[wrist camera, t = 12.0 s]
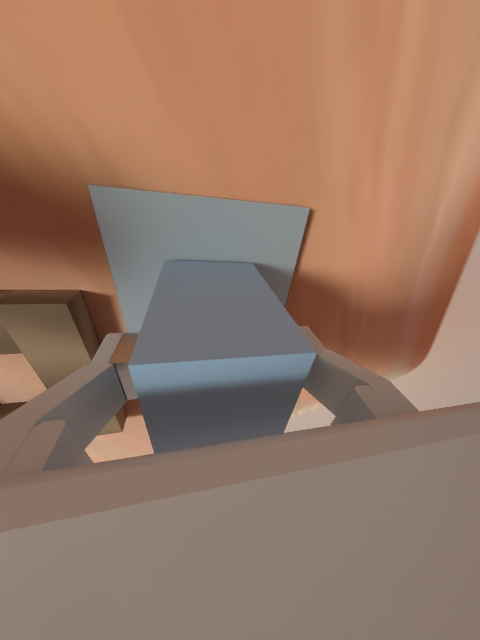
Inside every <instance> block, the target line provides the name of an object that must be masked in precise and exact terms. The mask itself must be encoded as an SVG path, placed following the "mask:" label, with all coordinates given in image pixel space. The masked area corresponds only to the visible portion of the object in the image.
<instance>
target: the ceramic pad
mask: <svg viewBox="0 0 480 640" xmlns="http://www.w3.org/2000/svg"><path fill="white" fill-rule="evenodd" d="M88 188H89V192H90V196H91V200H92V203H93V207H94V211H95V214H96V218H97V222H98V226H99V229H100V233H101V237H102V240H103V244H104V248H105V251H106V255H107V259H108V263H109V266H110V270H111V274H112V277H113V281H114V285H115V289H116V292H117V296H118V300H119V303H120V307H121V311H122V315H123V318H124V322H125V326H126V329H127V332H140V330H141V327H142V324H143V321H144V318H145V315H146V312H147V310H148V307H149V304H150V301H151V298H152V295H153V292H154V290H155V287H156V284H157V281H158V278H159V275H160V272H161V270H162V267H163V264H164V261H165V260H175V261H203V262H232V263H253V265H254V266H255V267H256V269H257V270H258V272H259V273H260V274H261V276H262V277H263V278H264V280H265V281H266V283H267V284H268V285H269V287H270V288H271V289H272V291H273V292H274V294H275V295H276V296H277V298H278V299H279V300H280V302H281V303H282V305H283V306H284V307H285V304H286V300H287V296H288V292H289V288H290V284H291V281H292V277H293V273H294V269H295V265H296V261H297V257H298V253H299V249H300V245H301V241H302V238H303V234H304V230H305V226H306V222H307V218H308V214H309V210H310V208H309V207H305V206H295V205H285V204H276V203H266V202H256V201H247V200H237V199H227V198H218V197H208V196H198V195H189V194H179V193H169V192H159V191H150V190H140V189H130V188H121V187H111V186H101V185H88Z"/></svg>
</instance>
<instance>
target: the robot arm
mask: <svg viewBox="0 0 480 640" xmlns="http://www.w3.org/2000/svg"><path fill="white" fill-rule="evenodd" d="M298 327H299V328H300V329H301V331H302V332H303V334H304V335H305V336H306V338H307V339H308V340H309V342H310V343H311V345H312V346H313V347H314V349H315V350H316V351H317V354H316V357H315V359H314V361H313V364H312V366H311V369H310V371H309V373H308V376H307V378H306V380H305V383H304V385H303V388H304V389H306V390H307V391H308V392H309V393H310V394H311V395H312V396H314V397H315V398H316V399H317V400H318V401H319V402H320V403H322V404H323V405H324V406H325V407H326V408H327V409H328V410H330V411H331V412H332V413H333V414H334V415H335V416H336V417H335V418H334V420H333V422H332V423H331V425H330V426H326V427H319V428H313V429H307V430H300V431H294V432H288V433H281V434H275V435H269V436H262V437H256V438H250V439H244V440H237V441H231V442H225V443H219V444H212V445H206V446H200V447H194V448H187V449H181V450H175V451H169V452H162V453H156V454H150V455H143V456H137V457H131V458H125V459H118V460H112V461H106V462H99V463H93V461H92V460H91V459H90V457H89V456H88V454H87V453H86V452H85V448H86V447H87V446H88V445H89V444H90V443H91V442H92V440H93V439H94V438H95V437H96V436H97V435H98V434H99V432H100V431H101V430H102V429H103V428H104V427H105V426H106V424H107V423H108V422H109V421H110V420H111V419H112V418H113V417H114V415H115V414H116V413H117V412H118V411H119V410H120V409H121V407H122V406H123V405H124V404H125V403H126V402H127V401H126V400H132V399H138V397H137V394H136V391H135V387H134V384H133V381H132V377H131V374H130V371H129V368H128V364H129V361H130V358H131V355H132V352H133V349H134V347H135V344H136V341H137V338H138V335H139V332H126V333H109V334H107V335H106V336H105V338H104V340H103V342H102V343H101V345H100V347H99V349H98V350H97V352H96V354H95V356H94V358H93V359H92V361H91V363H90V365H88V366H83V367H81V368H80V369H78V370H77V371H75V372H74V373H72V374H70V375H69V376H67V377H66V378H64V379H63V380H61V381H60V382H58V383H57V384H55V385H53V386H52V387H50V388H49V389H47V390H46V391H44V392H43V393H41V394H39V395H38V396H36V397H35V398H33V399H32V400H30V401H29V402H27V403H26V404H24V405H22V406H21V407H19V408H18V409H16V410H15V411H13V412H12V413H10V414H8V415H7V416H5V417H4V418H2V419H1V420H0V640H480V402H476V403H470V404H464V405H458V406H451V407H445V408H439V409H433V410H426V411H420V412H419V410H418V409H416V407H415V406H413V405H412V403H411V402H410V401H409V400H408V399H407V398H406V397H405V396H404V395H403V394H402V393H401V392H400V391H399V390H398V389H397V388H395V386H394V385H393V384H392V383H391V382H390V381H388V380H386V379H385V378H383V377H381V376H379V375H377V374H375V373H373V372H371V371H370V370H368V369H366V368H364V367H362V366H360V365H358V364H356V363H355V362H353V361H351V360H349V359H347V358H345V357H343V356H341V355H340V354H338V353H336V352H334V351H332V350H330V349H329V350H327V349H326V348H325V347H324V346H323V344H322V343H321V342H320V341H319V339H318V338H317V337H316V336H315V334H314V333H313V332H312V331H311V329H310V328H309V327H308V326H298Z"/></svg>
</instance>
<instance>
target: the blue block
mask: <svg viewBox="0 0 480 640" xmlns="http://www.w3.org/2000/svg"><path fill="white" fill-rule="evenodd" d="M316 354H317V351H316V350H315V349H314V347H313V346H312V345H311V343H310V342H309V340H308V339H307V338H306V336H305V335H304V334H303V332H302V331H301V329H300V328H299V327H298V325H297V324H296V323H295V321H294V320H293V318H292V317H291V316H290V314H289V313H288V312H287V310H286V309H285V307H284V306H283V305H282V303H281V302H280V300H279V299H278V298H277V296H276V295H275V294H274V292H273V291H272V289H271V288H270V287H269V285H268V284H267V283H266V281H265V280H264V278H263V277H262V276H261V274H260V273H259V272H258V270H257V269H256V267H255V266H254V265H253V263H232V262H203V261H175V260H165V261H164V264H163V267H162V270H161V272H160V275H159V278H158V281H157V284H156V287H155V290H154V292H153V295H152V298H151V301H150V304H149V307H148V310H147V312H146V315H145V318H144V321H143V324H142V327H141V330H140V332H139V335H138V338H137V341H136V344H135V347H134V349H133V352H132V355H131V358H130V361H129V364H128V368H129V371H130V374H131V377H132V381H133V384H134V387H135V391H136V394H137V397H138V401H139V404H140V407H141V411H142V414H143V417H144V421H145V424H146V427H147V430H148V434H149V437H150V440H151V444H152V447H153V450H154V454H156V453H162V452H169V451H175V450H181V449H187V448H194V447H200V446H206V445H212V444H219V443H225V442H231V441H237V440H244V439H250V438H256V437H262V436H269V435H275V434H281V433H284V430H285V428H286V425H287V423H288V420H289V418H290V416H291V414H292V411H293V409H294V406H295V404H296V402H297V399H298V397H299V395H300V392H301V390H302V388H303V385H304V383H305V380H306V378H307V376H308V373H309V371H310V369H311V366H312V364H313V361H314V359H315V357H316Z"/></svg>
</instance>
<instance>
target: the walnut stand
mask: <svg viewBox="0 0 480 640" xmlns="http://www.w3.org/2000/svg"><path fill="white" fill-rule="evenodd" d="M100 345H101V344H100V342H99V339H98V336H97V334H96V331H95V328H94V326H93V323H92V320H91V318H90V315H89V312H88V310H87V307H86V305H85V302H84V299H83V297H82V294H81V291H80V290H0V354H18V353H23V355H24V356H25V357H26V359H27V360H28V362H29V363H30V365H31V366H32V368H33V369H34V371H35V372H36V374H37V375H38V376H39V378H40V379H41V381H42V382H43V384H44V385H45V387H46V388H47V389H49V388H50V387H52V386H53V385H55V384H57V383H58V382H60V381H61V380H63V379H64V378H66V377H67V376H69V375H70V374H72V373H74V372H75V371H77V370H78V369H80V368H81V367H83V366H88V365H90V363H91V361H92V359H93V358H94V356H95V354H96V352H97V350H98V349H99V347H100ZM26 403H27V402H22V403H12V404H1V405H0V420H1V419H2V418H4V417H5V416H7V415H8V414H10V413H12V412H13V411H15V410H16V409H18V408H19V407H21V406H22V405H24V404H26ZM126 417H127V413H126V410H125V408H124V405H123V406H122V407H121V409H120V410H119V411H118V412H117V413H116V414H115V415H114V417H113V418H112V419H111V420H110V421H109V422H108V423H107V424H106V426H105V427H104V428H103V429H102V430H101V431H100V432H99V434H98V435H103V434H111V433H118V432H122V431H123V428H124V424H125V421H126Z"/></svg>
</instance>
